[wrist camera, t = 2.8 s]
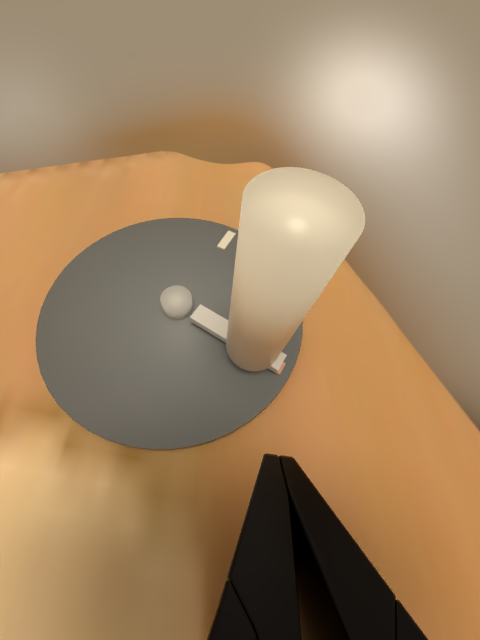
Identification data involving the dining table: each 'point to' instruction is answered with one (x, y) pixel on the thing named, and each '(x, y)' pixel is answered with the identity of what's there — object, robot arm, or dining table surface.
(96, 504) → the dining table surface
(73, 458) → the dining table surface
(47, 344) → the grey round platter
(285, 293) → the tall cream cylinder
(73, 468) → the dining table surface
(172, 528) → the dining table surface
